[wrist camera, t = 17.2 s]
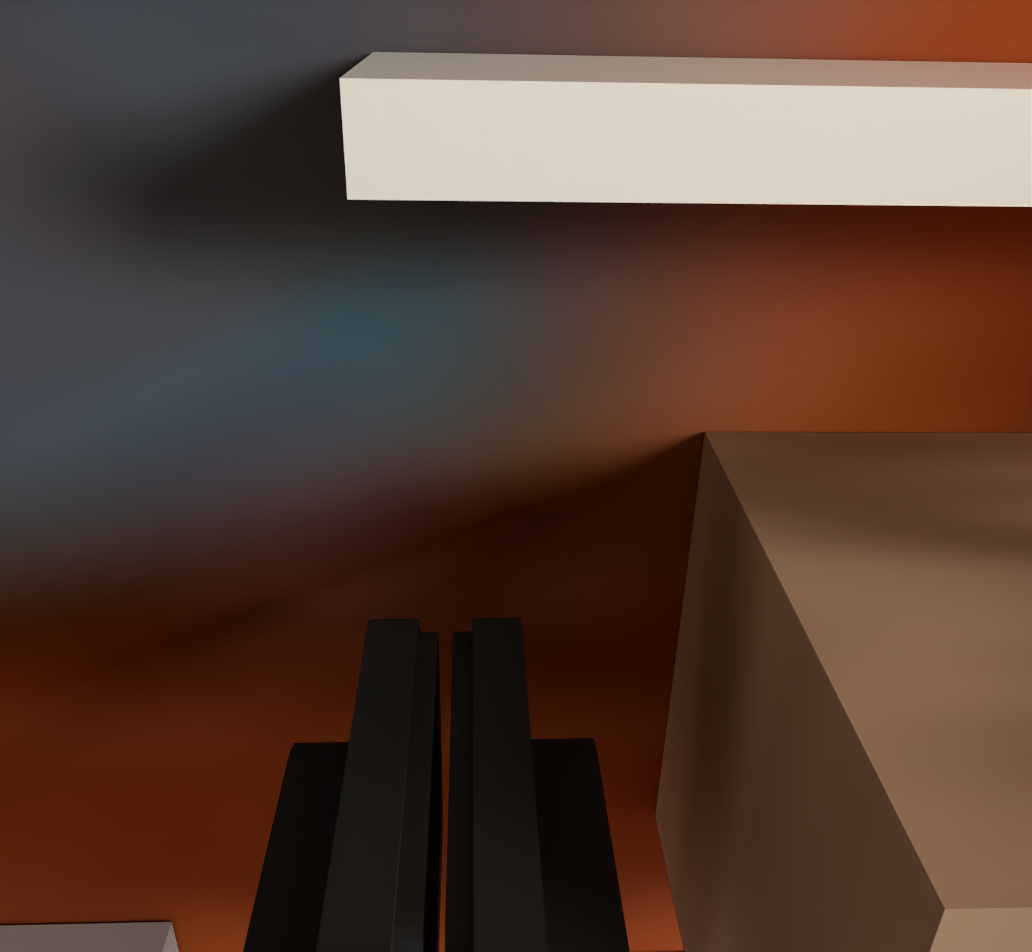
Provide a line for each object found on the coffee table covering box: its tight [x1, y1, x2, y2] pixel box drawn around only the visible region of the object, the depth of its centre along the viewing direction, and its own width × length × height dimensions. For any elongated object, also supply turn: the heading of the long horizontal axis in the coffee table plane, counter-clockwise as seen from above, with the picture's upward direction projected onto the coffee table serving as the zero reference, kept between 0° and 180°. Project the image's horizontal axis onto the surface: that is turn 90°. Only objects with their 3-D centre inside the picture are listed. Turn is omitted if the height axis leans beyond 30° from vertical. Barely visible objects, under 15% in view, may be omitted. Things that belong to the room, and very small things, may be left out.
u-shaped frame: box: [339, 52, 1032, 207], centre depth 11 cm, size 13×14×2 cm
